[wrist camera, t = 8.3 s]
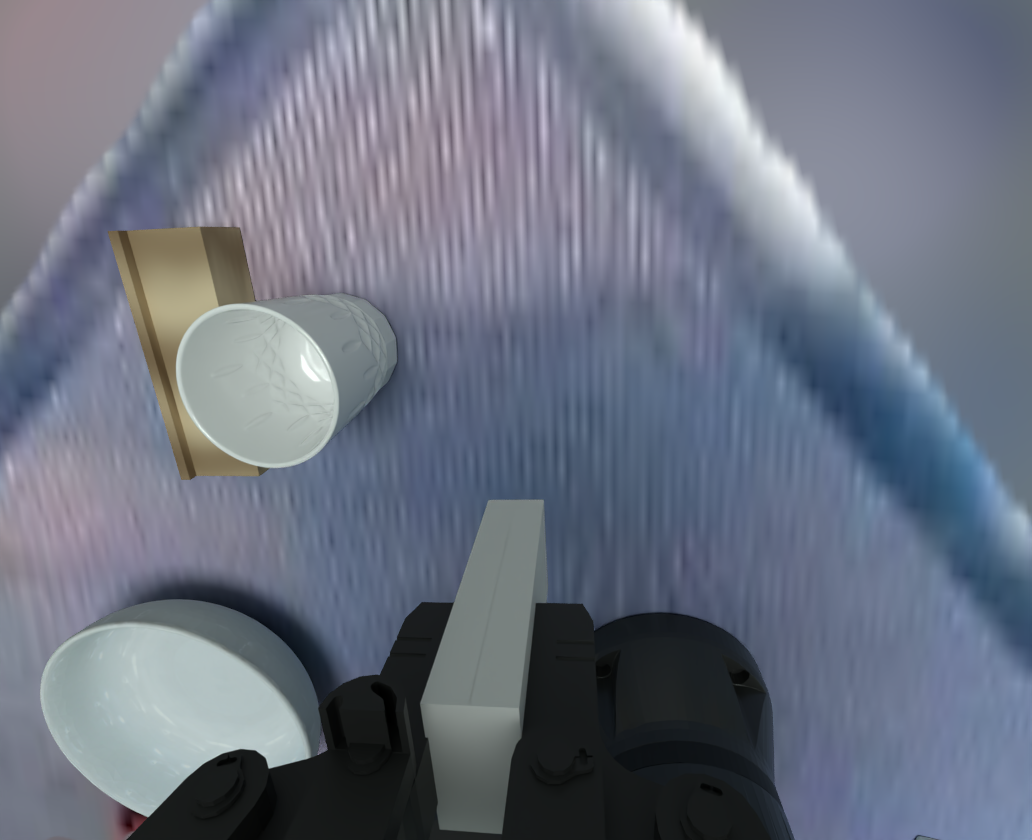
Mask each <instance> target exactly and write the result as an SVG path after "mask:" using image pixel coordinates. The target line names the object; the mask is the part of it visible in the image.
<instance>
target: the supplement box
mask: <svg viewBox="0 0 1032 840" xmlns="http://www.w3.org/2000/svg"><path fill="white" fill-rule="evenodd" d="M916 840H937V839H932V838H928V837H923V836H918V837H917V838H916Z"/></svg>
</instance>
